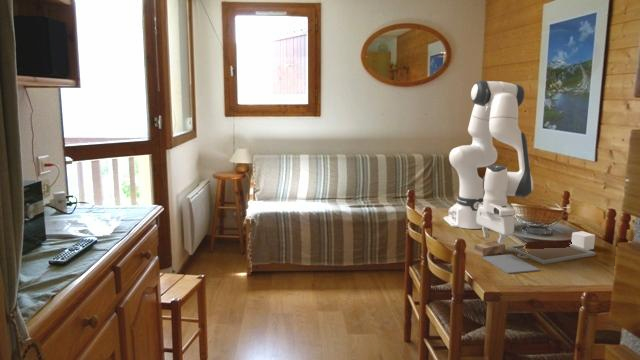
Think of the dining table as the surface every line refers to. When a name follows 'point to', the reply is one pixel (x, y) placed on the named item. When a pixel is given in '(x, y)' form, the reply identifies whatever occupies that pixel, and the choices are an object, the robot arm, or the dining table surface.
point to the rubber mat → (510, 264)
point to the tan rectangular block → (489, 248)
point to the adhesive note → (583, 240)
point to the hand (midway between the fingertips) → (493, 240)
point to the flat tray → (552, 253)
